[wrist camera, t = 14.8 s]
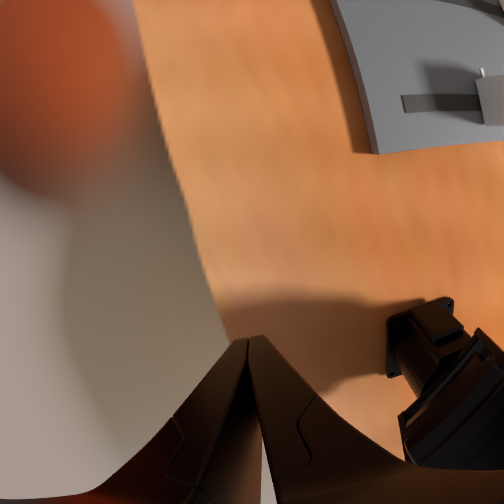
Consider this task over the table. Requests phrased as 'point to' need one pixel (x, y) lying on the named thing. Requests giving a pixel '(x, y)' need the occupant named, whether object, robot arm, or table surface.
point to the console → (422, 68)
